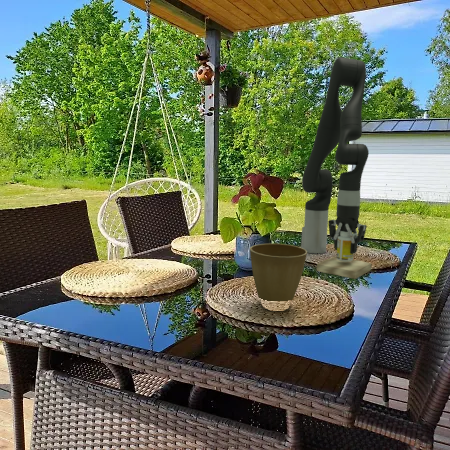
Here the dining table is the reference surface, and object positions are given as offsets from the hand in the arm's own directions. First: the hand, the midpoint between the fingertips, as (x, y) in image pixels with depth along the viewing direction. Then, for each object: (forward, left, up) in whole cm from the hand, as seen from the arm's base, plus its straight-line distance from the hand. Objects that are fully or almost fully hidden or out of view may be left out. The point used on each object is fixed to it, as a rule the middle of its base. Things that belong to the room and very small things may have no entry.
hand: (345, 251), depth 159 cm
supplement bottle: (0, 0, -3) cm, 3 cm away
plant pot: (+9, -45, -7) cm, 47 cm away
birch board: (0, 0, -7) cm, 7 cm away
